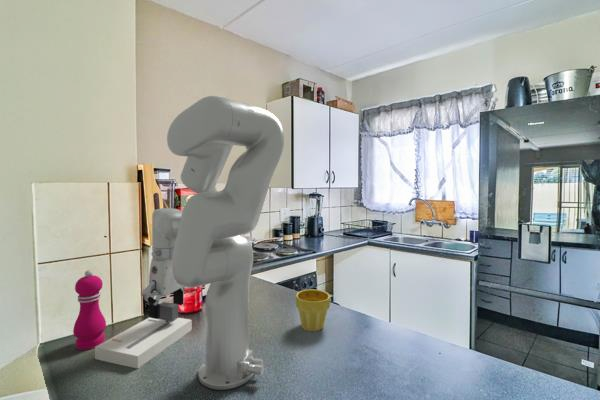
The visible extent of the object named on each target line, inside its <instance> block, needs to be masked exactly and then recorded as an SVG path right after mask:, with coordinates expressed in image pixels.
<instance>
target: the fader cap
mask: <svg viewBox="0 0 600 400" xmlns="http://www.w3.org/2000/svg"><path fill="white" fill-rule="evenodd" d="M159 304H160V318H159V319H161V320H165V322H167V323H169V322H170V321H174V320H175V319H177V318H179V305H178V304H174V303H172V302H165V301H164V302H161V303H159Z"/></svg>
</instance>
